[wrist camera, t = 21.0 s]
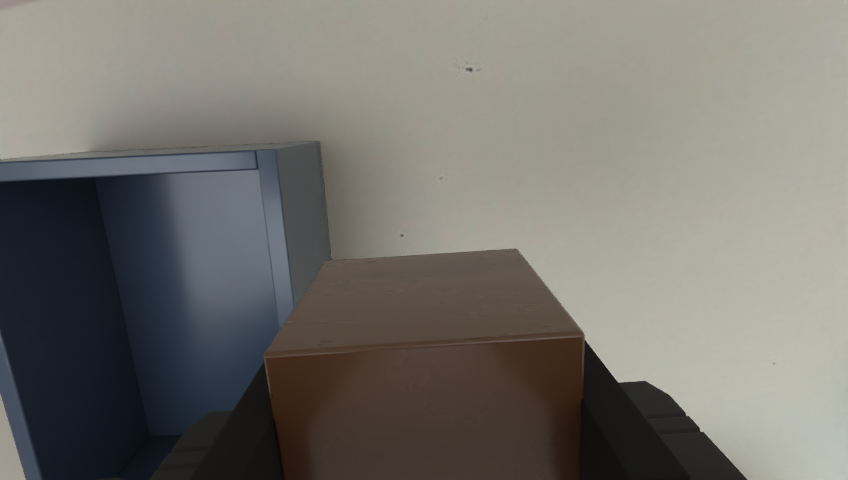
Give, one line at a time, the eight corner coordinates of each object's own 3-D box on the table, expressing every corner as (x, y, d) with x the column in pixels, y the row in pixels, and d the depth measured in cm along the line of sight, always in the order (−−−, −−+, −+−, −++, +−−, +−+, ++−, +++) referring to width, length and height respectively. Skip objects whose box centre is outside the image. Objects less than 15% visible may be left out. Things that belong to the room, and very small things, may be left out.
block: (323, 260, 12) (261, 354, 7) (517, 247, 12) (586, 333, 7) (343, 429, 13) (302, 606, 8) (520, 417, 13) (580, 588, 8)
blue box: (84, 152, 27) (-69, 165, 19) (320, 140, 27) (275, 148, 19) (146, 438, 32) (47, 555, 23) (347, 429, 32) (322, 541, 23)
